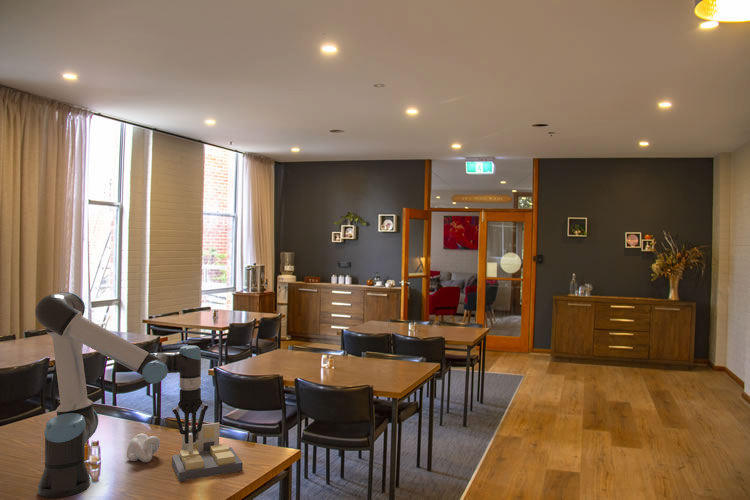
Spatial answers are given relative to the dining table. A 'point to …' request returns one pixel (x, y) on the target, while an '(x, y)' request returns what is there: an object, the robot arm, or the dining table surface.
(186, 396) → the robot arm
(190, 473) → the button board
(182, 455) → the button
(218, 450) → the button
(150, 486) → the dining table surface
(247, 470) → the dining table surface
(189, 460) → the button
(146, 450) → the white knot
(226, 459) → the button
